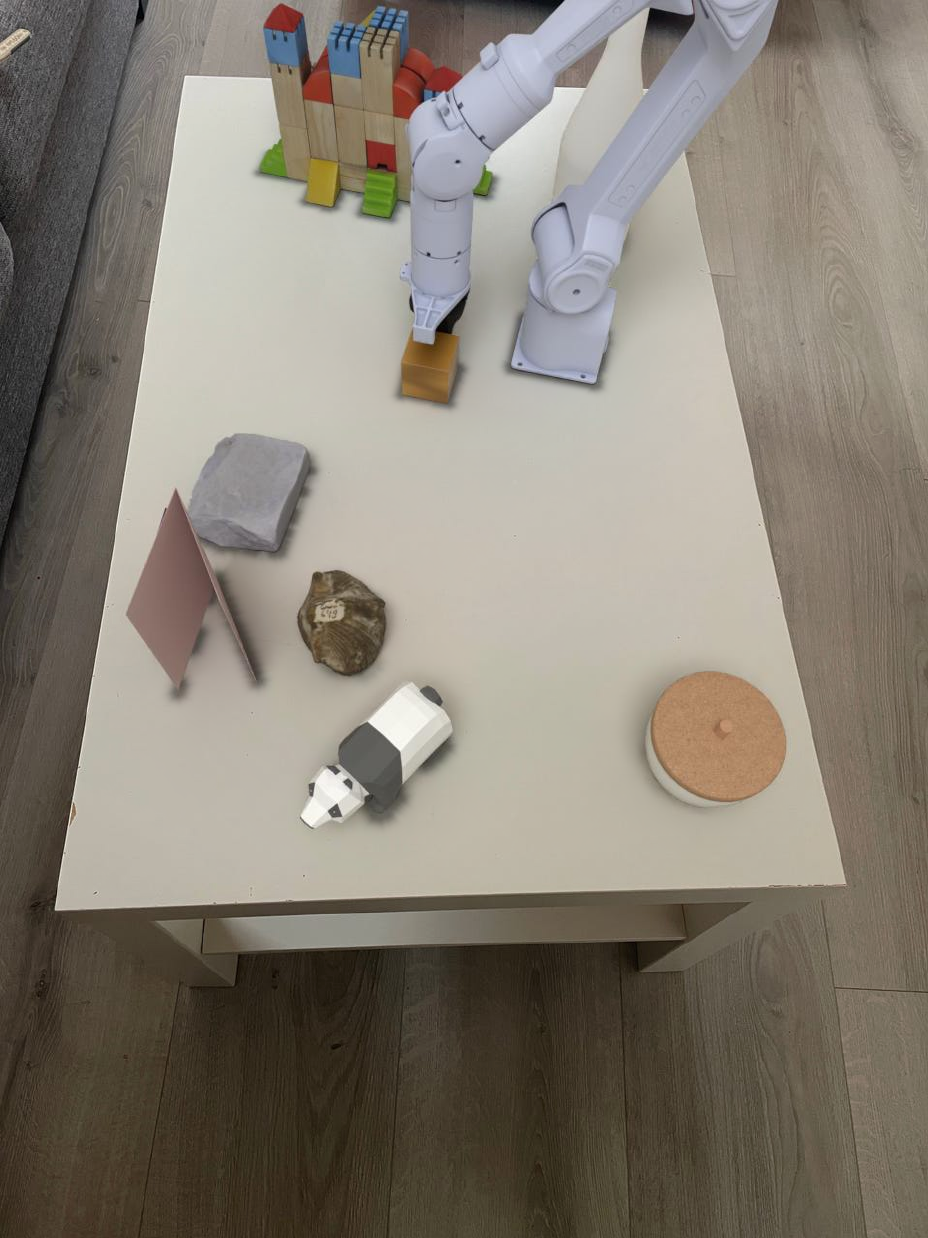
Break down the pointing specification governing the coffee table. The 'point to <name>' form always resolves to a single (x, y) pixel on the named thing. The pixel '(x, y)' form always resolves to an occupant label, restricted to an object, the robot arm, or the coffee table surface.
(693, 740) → the trinket box
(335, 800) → the giant panda
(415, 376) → the ochre block
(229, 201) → the coffee table surface
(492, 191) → the coffee table surface
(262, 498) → the stone block
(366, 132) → the block set
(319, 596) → the fossilized seashell
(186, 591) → the greeting card
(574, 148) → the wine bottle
